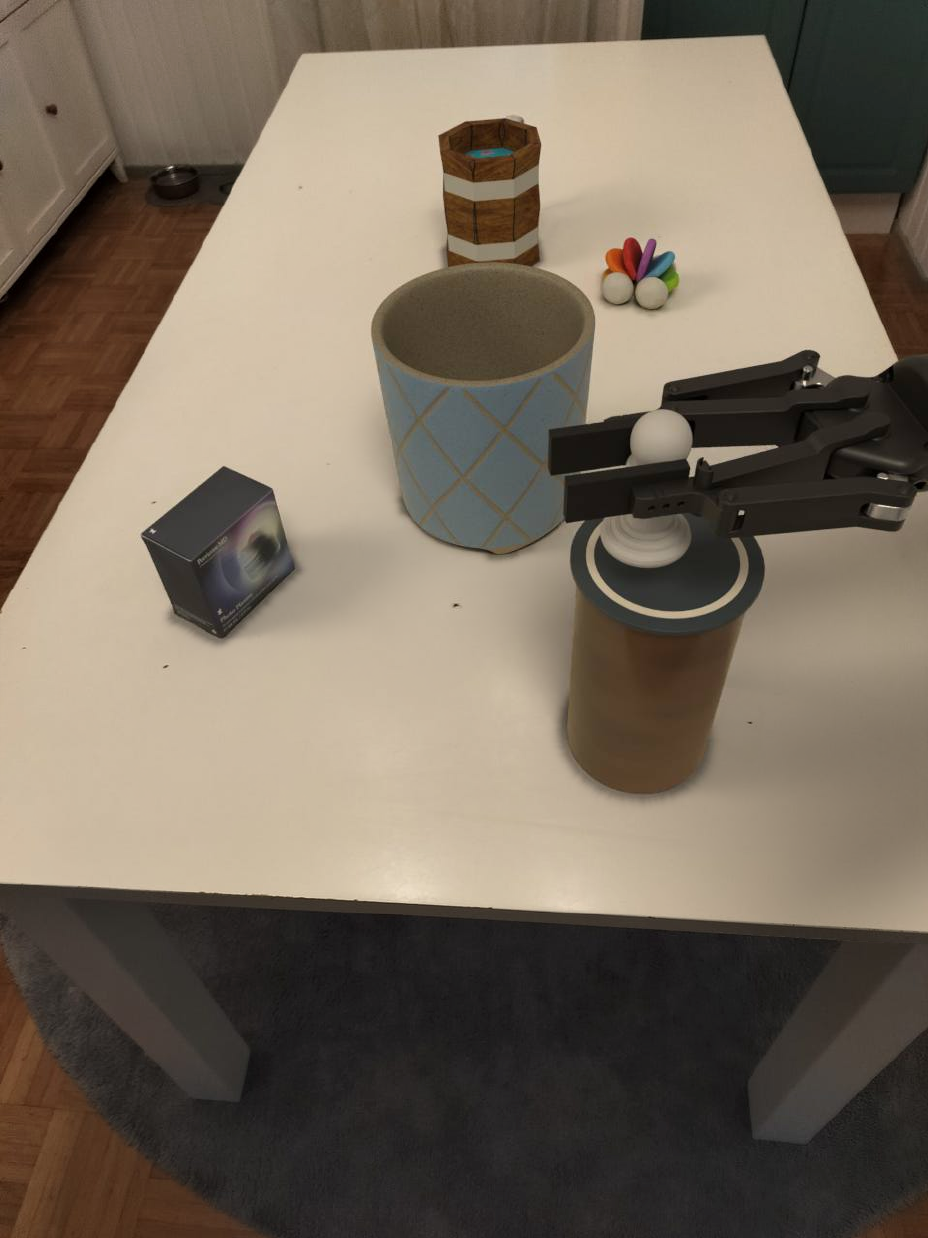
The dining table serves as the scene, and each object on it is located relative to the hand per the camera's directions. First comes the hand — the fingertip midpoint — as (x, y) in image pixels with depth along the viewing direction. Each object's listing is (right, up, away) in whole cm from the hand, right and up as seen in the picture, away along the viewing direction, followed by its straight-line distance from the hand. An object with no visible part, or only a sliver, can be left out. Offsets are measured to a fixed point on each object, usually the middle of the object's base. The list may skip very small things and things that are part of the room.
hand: (558, 475), depth 48 cm
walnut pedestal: (+9, -17, +23) cm, 30 cm away
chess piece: (+6, -3, +5) cm, 8 cm away
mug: (0, +44, +75) cm, 87 cm away
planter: (-2, +5, +42) cm, 43 cm away
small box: (-27, -5, +35) cm, 45 cm away
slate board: (+8, -4, +8) cm, 12 cm away
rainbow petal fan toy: (+17, +34, +65) cm, 75 cm away
